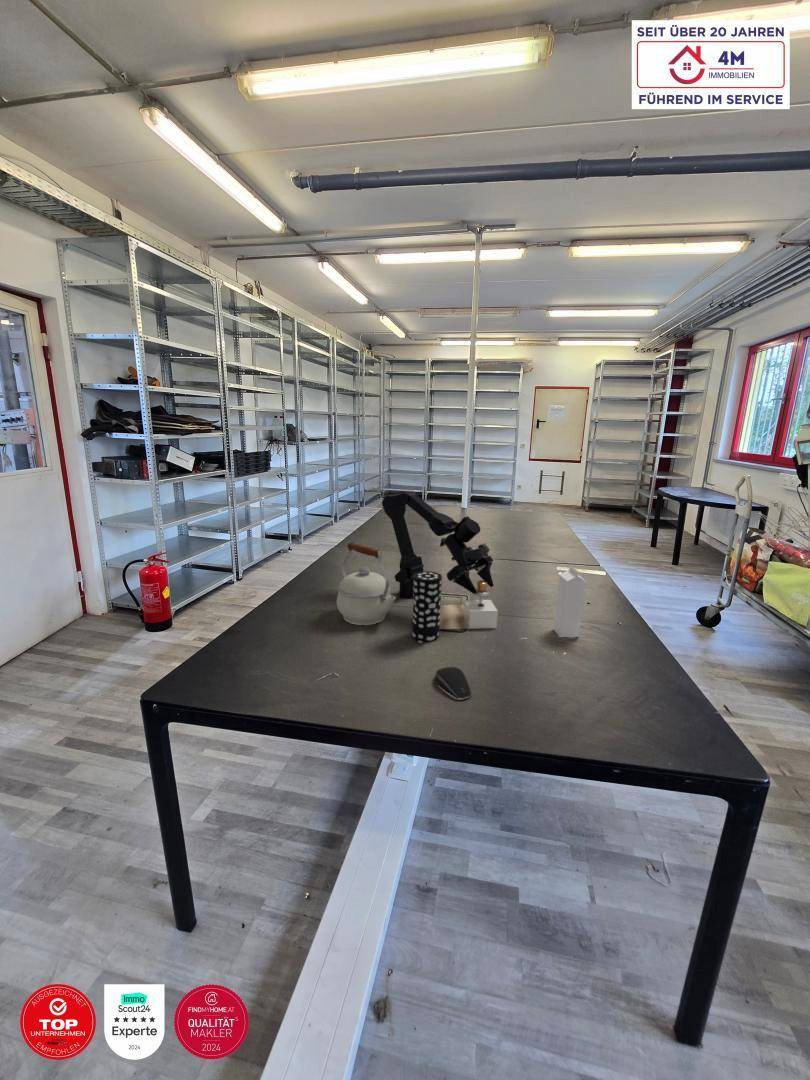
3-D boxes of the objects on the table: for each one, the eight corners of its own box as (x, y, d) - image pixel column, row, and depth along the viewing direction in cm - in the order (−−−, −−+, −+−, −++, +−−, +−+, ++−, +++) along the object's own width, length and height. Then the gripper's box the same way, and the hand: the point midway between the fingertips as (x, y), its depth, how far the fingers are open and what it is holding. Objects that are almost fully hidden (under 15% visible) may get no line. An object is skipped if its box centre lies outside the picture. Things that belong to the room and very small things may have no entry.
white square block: (468, 628, 141) (470, 611, 139) (463, 616, 150) (464, 600, 148) (496, 628, 142) (497, 610, 140) (489, 616, 150) (490, 599, 149)
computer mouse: (452, 704, 104) (453, 689, 103) (429, 677, 115) (430, 663, 114) (478, 697, 107) (479, 683, 106) (453, 672, 118) (453, 658, 116)
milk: (570, 629, 143) (579, 565, 138) (578, 638, 137) (588, 571, 132) (552, 629, 143) (560, 564, 137) (559, 638, 137) (568, 571, 131)
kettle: (322, 615, 150) (320, 544, 143) (363, 600, 163) (362, 535, 156) (372, 640, 133) (373, 561, 127) (413, 621, 146) (415, 549, 140)
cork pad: (437, 630, 140) (437, 628, 140) (430, 606, 159) (430, 604, 159) (496, 629, 142) (496, 628, 142) (482, 605, 160) (482, 604, 160)
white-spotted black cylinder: (442, 634, 138) (445, 574, 133) (433, 646, 130) (435, 582, 125) (418, 628, 141) (420, 569, 136) (407, 639, 134) (409, 577, 129)
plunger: (474, 611, 142) (476, 585, 139) (470, 605, 147) (472, 579, 144) (490, 611, 142) (492, 585, 140) (486, 605, 147) (488, 579, 145)
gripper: (455, 541, 135) (483, 584, 130) (490, 532, 148) (516, 571, 143) (435, 560, 142) (460, 602, 138) (470, 549, 155) (494, 587, 150)
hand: (484, 590), depth 142 cm, fingers open, 9 cm apart
